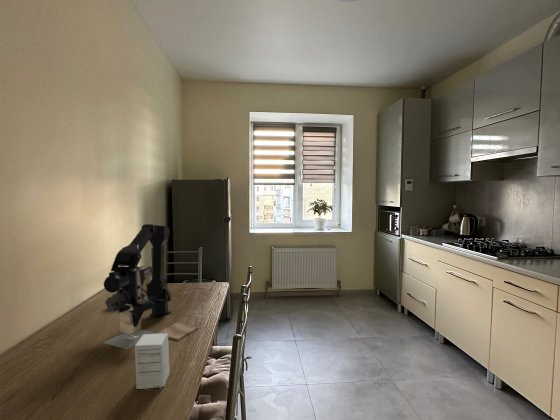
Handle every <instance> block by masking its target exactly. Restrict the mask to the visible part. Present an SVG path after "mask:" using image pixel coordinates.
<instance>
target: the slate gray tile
mask: <svg viewBox="0 0 560 420" xmlns="http://www.w3.org/2000/svg"><path fill="white" fill-rule="evenodd" d="M156 333H157V332H153V331H149V330H145V329H142V328H141V329H139V330H137V331H135V332H133V333H131V334H127V333H124V332H122V333H121V334H118V335H116V336H115V337H112V338H109V339H107V340H105V341H104V342H102V343H103V344H107V345H111V346H114V347H117V348H119V349H123V350H127V349H129V348H131V347H133V346H135V345H136V344H137V342H138V341H139V340H140V338H141V337H142V336H143V335H144V334H156Z"/></svg>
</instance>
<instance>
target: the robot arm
mask: <svg viewBox="0 0 560 420" xmlns="http://www.w3.org/2000/svg"><path fill="white" fill-rule="evenodd" d="M169 236H170V228H169V227H168V226H167V225H161V224H160V225H158V224H157V225H156V224H154V223H145V224H142V226H141V228H140V230H139V231H138V233H137V234H136V236H135V237H134V238H133V240H132V241H131V242H130V243H129V244H128V245H127V246H124V247H122V248H121V249H120V250H119V251H118V252H117V253H116V255H115V258H114V260H113V263H112V266H111V268H110V272H108V276H107V277H106V278H105V279H104V282H103V288H104V289H105V291H107V292H108V293H112V295H113V293H114V292H116V291H117V294H115V295H113V296H109V297H107V299H106V300H105V302H104V303H105V305H106V307H107V310H108V311H113V312H118V314H119V313H121V312H123V311H126V310H128V309H131V307H132V309H133V310H131V311H129V312H130V313H131V314H132V317H133V325H134V327H137V325H138V323H139V321H140V318H142V317H143V314H144V312H146V311H149V310H151V313H150V314H149V316H151V317H155V318H162V317H165V316H166V315H169V314H171V313H172V312H171V311H169V302H171V301H172V297H173V296H172V295H173V294H172V293H171V291H170V290H169V289H168V283H167V281H166V279H165V277H164V276H165V245H166V243H167V242H168V240H169ZM148 242H150V244H151V245H152V258H151V260H152V261H151V263H152V264H151V266H152V280H151V281H150V283H149V284H147V298H148V299H147V300H146V299H144V300H141V301H139V302H138V300H139V299H140V296H138V289H140V286H139V285H137V270H138V269H139V267H140V266H138V264H139V263H140V261H141V259H142V251H143V250H144V248H145V246H146V245H147V244H148Z"/></svg>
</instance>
